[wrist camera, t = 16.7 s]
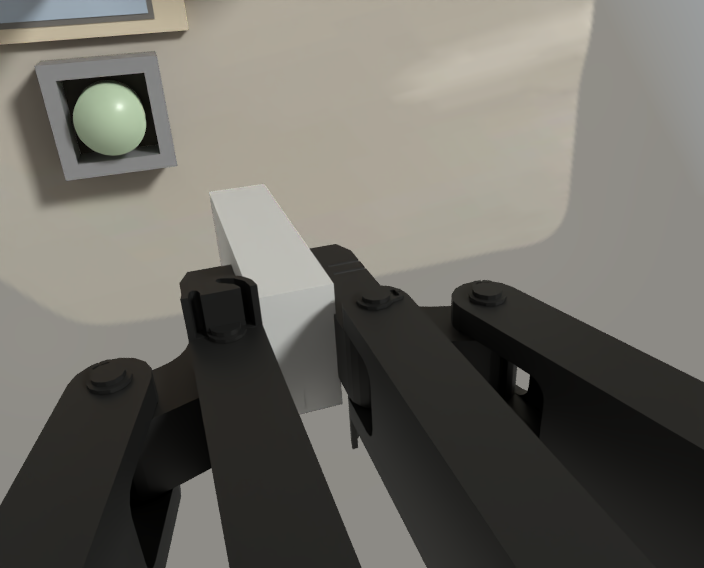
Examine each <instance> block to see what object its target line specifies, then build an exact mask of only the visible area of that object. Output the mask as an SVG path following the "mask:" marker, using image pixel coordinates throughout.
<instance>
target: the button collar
mask: <svg viewBox="0 0 704 568" xmlns="http://www.w3.org/2000/svg"><path fill="white" fill-rule="evenodd" d="M34 67H35V70H36V74H37V77H38V81H39V85H40V88H41V92H42V96H43V99H44V103H45V107H46V110H47V114H48V117H49V121H50V125H51V128H52V132H53V136H54V139H55V143H56V146H57V150H58V154H59V157H60V161H61V165H62V168H63V172H64V176H65V179H66V181H69V180H77V179H84V178H91V177H99V176H106V175H114V174H121V173H129V172H136V171H144V170H151V169H158V168H166V167H173V166H177V161H176V156H175V150H174V145H173V140H172V134H171V129H170V123H169V118H168V113H167V107H166V102H165V97H164V91H163V86H162V81H161V75H160V70H159V65H158V59H157V55H156V52H155V51H152V52H140V53H129V54H117V55H105V56H93V57H82V58H70V59H58V60H47V61H40V62H39V63H37V64H36V65H35V66H34ZM136 73H144V74H145V79H146V84H147V89H148V94H149V99H150V104H151V109H152V114H153V119H154V124H155V129H156V134H157V139H158V145H149V146H141V147H136V148H134V149H133V150H132V151H130V152H128V153H125V154H122V155H114V156H112V155H104V154H101V153H98V152H93V153H85V154H81V153H80V149H79V145H78V142H77V138H76V134H75V130H74V126H73V122H72V118H71V114H70V111H69V107H68V103H67V99H66V95H65V91H64V87H63V84H62V80H72V79H82V78H93V77H104V76H114V75H125V74H136Z"/></svg>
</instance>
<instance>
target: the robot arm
mask: <svg viewBox="0 0 704 568" xmlns="http://www.w3.org/2000/svg"><path fill="white" fill-rule="evenodd" d="M209 195H210V201H211V207H212V214H213V220H214V226H215V232H216V238H217V244H218V250H219V256H220V262H221V266H219V267H213V268H208V269H202V270H197V271H191V272H187V273H186V275H185V276H184V278H183V279H182V281H181V282H180V289H181V299H180V300H181V305H182V310H183V315H184V319H185V324H186V329H187V334H188V339H189V344H188V346H187V348H186V350H185V351H184V352H183V353H182V354H181V355H180V356H179V357H177V358H176V359H174V360H173V361H171V362H169V363H168V364H166V365H163V366H162V367H159V368H157V369H154V370H152V368H151V367H150V366H149V365H148V364H147V363H146V362H144V361H142V360H139V359H136V358H117V359H112V360H105V361H102V362H100V363H96V364H94V365H92V366H90V367H88V368H86V369H85V370H83V371H82V372H80V373H79V374H77V375H76V376H75V377H74V378H73V379H72V380H71V382H70V383H69V384H68V385H67V387H66V389H65V391H64V392H63V394H62V396H61V398H60V399H59V401H58V403H57V405H56V407H55V408H54V410H53V412H52V414H51V416H50V417H49V419H48V421H47V423H46V425H45V427H44V428H43V430H42V432H41V434H40V435H39V437H38V439H37V441H36V442H35V444H34V446H33V448H32V450H31V451H30V453H29V455H28V457H27V459H26V460H25V462H24V464H23V466H22V468H21V469H20V471H19V473H18V475H17V476H16V478H15V480H14V482H13V484H12V485H11V487H10V489H9V491H8V493H7V494H6V496H5V498H4V500H3V502H2V504H1V505H0V568H165V567H166V562H167V558H168V553H169V548H170V544H171V540H172V535H173V530H174V526H175V521H176V517H177V512H178V507H179V503H180V499H181V488H180V484H182V483H184V482H186V481H188V480H190V479H192V478H194V477H195V476H197V475H199V474H201V473H203V472H205V471H207V470H209V469H210V468H212V473H213V478H214V483H215V489H216V494H217V500H218V506H219V512H220V517H221V523H222V528H223V534H224V539H225V545H226V550H227V556H228V562H229V567H230V568H361V565H360V563H359V560H358V558H357V555H356V553H355V550H354V548H353V546H352V543H351V541H350V538H349V536H348V534H347V531H346V528H345V526H344V523H343V521H342V519H341V516H340V514H339V511H338V509H337V506H336V504H335V502H334V499H333V496H332V494H331V492H330V489H329V487H328V484H327V482H326V479H325V477H324V474H323V472H322V469H321V467H320V465H319V462H318V460H317V457H316V455H315V452H314V450H313V447H312V445H311V443H310V440H309V438H308V435H307V433H306V430H305V428H304V426H303V423H302V420H301V418H300V416H299V415H300V414H304V413H308V412H312V411H316V410H320V409H324V408H328V407H332V406H336V405H340V404H342V391H341V383H342V385H343V386H344V388H345V390H346V392H347V394H348V401H349V417H350V431H351V443H352V448H353V449H355V448H358V440H357V439H358V437H359V436H360V438H361V440H362V442H363V444H364V446H365V448H366V449H367V451H368V453H369V456H370V457H371V459H372V461H373V463H374V465H375V467H376V469H377V471H378V473H379V475H380V477H381V479H382V481H383V483H384V485H385V487H386V489H387V490H388V493H389V495H390V496H391V498H392V500H393V502H394V504H395V506H396V508H397V510H398V512H399V514H400V516H401V518H402V520H403V522H404V524H405V526H406V527H407V530H408V532H409V534H410V535H411V537H412V539H413V541H414V543H415V545H416V547H417V549H418V551H419V553H420V555H421V557H422V559H423V561H424V563H425V565H426V567H427V568H704V382H702V381H700V380H698V379H696V378H694V377H692V376H690V375H688V374H686V373H684V372H682V371H680V370H678V369H676V368H674V367H672V366H670V365H668V364H666V363H664V362H662V361H660V360H658V359H656V358H654V357H652V356H650V355H648V354H646V353H644V352H642V351H640V350H638V349H636V348H634V347H632V346H630V345H628V344H626V343H624V342H622V341H620V340H618V339H616V338H614V337H612V336H610V335H608V334H606V333H604V332H602V331H600V330H598V329H596V328H594V327H592V326H590V325H588V324H586V323H584V322H582V321H579V320H577V319H576V318H574V317H572V316H570V315H568V314H566V313H563V312H562V311H560V310H558V309H556V308H554V307H551V306H550V305H547V304H546V303H544V302H542V301H539V300H538V299H535V298H534V297H531V296H529V295H527V294H526V293H523V292H521V291H519V290H517V289H515V288H513V287H511V286H508V285H505V284H503V283H497V282H492V281H489V280H488V281H487V280H483V281H474V282H471V283H466V284H463V285H462V286H459V287H458V288H456V289H455V290H454V292H453V293H452V301H451V302H452V303H451V304H452V305H451V306H439V307H419V306H418V305H417V304H416V303H415V302H414V301H413V299H411V297H410V296H409V295H408V294H407V293H405V292H404V291H402V290H400V289H397V288H394V287H390V286H380V284H379V283H378V282H377V281H376V280H375V279H374V277H373V276H372V275H371V274H370V273H369V271H368V270H367V269H365V267H364V266H363V264H362V263H361V262H360V261H358V259H357V257H356V256H355V255H354V254H353V253H352V251H351V250H348V249H346V248H344V247H341V246H339V245H337V244H333V245H327V246H322V247H316V248H311V249H309V247H308V246H307V245H306V243H305V242H304V240H303V239H302V237H301V236H300V235H299V233H298V232H297V230H296V229H295V227H294V226H293V225H292V223H291V222H290V220H289V219H288V217H287V216H286V214H285V213H284V212H283V210H282V209H281V207H280V206H279V204H278V203H277V202H276V200H275V199H274V197H273V196H272V194H271V193H270V192H269V190H268V189H267V187H266V186H265V184H259V185H253V186H246V187H239V188H232V189H225V190H218V191H212V192H209ZM517 367H519V368H521V369H522V370H524V371H525V372H527V373H528V374H530V380H529V388H528V391H526V390H524V389H522V388H520V387H519V386H517V385H516V372H517Z"/></svg>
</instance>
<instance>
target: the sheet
mask: <svg viewBox="0 0 704 568" xmlns="http://www.w3.org/2000/svg"><path fill="white" fill-rule="evenodd" d="M182 30H189V28H188V22H187V16H186V10H185V4H184V0H0V45H2V44H15V43H28V42H41V41H54V40H67V39H79V38H92V37H105V36H118V35H131V34H144V33H157V32H169V31H182Z"/></svg>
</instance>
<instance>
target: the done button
mask: <svg viewBox="0 0 704 568" xmlns="http://www.w3.org/2000/svg"><path fill="white" fill-rule="evenodd" d="M73 123H74V127H75V130H76V132H77V134H78V136H79V138H80V139H81V140H82V141H83V143H84V144H86V145H87V146H88V147H89V148H91V149H92V150H94V151H96V152H98V153H101V154H104V155H112V156H114V155H122V154H125V153H128V152H130V151H132V150H133V149H134V148H136V147H137V146H138V145H139V143H140V142H141V141H142V139H143V137H144V134H145V130H146V119H145V111H144V107H143V104H142V101H141V99H140V98H139V96H138V95H137V94H136V93H135V91H134V90H132V89H131V88H130V87H129V86H127V85H125V84H123V83H121V82H118V81H114V80H100V81H96V82H94V83H92V84H90V85H89V86H87V87H86V88H85V89H84V90H83V91H82V93H81V94H80V96H79V98H78V101H77V103H76V105H75V108H74V112H73Z"/></svg>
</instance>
